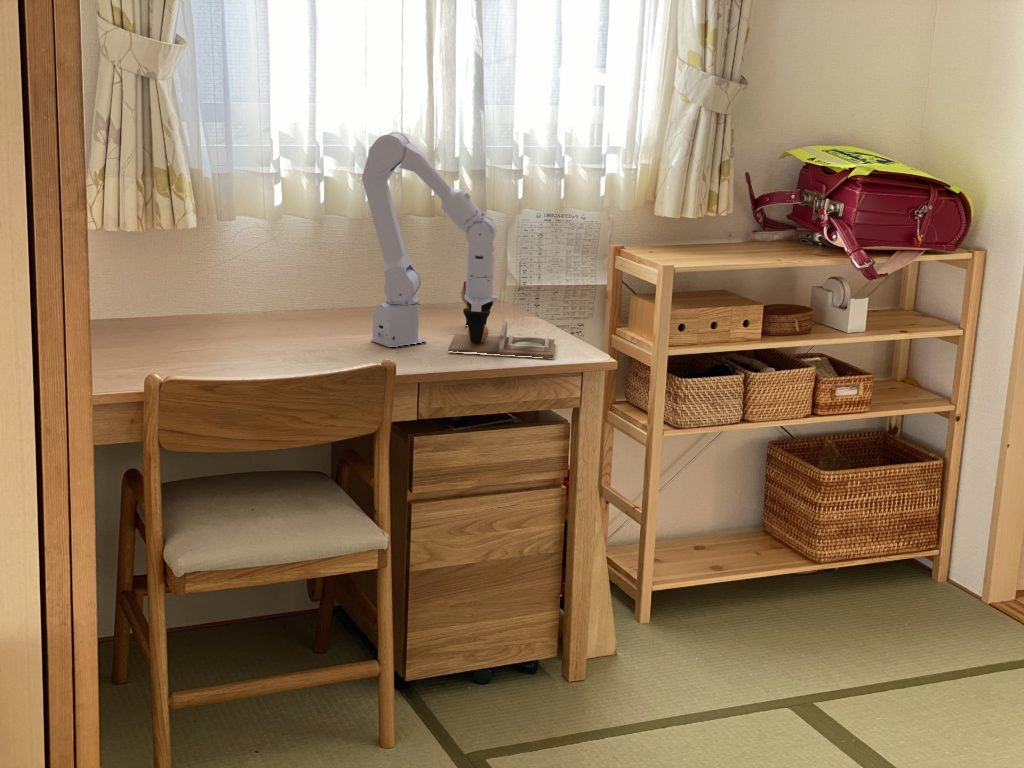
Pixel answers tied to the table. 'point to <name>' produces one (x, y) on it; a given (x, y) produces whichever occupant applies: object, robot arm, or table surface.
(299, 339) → the table surface
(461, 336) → the board
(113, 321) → the table surface
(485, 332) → the ball
